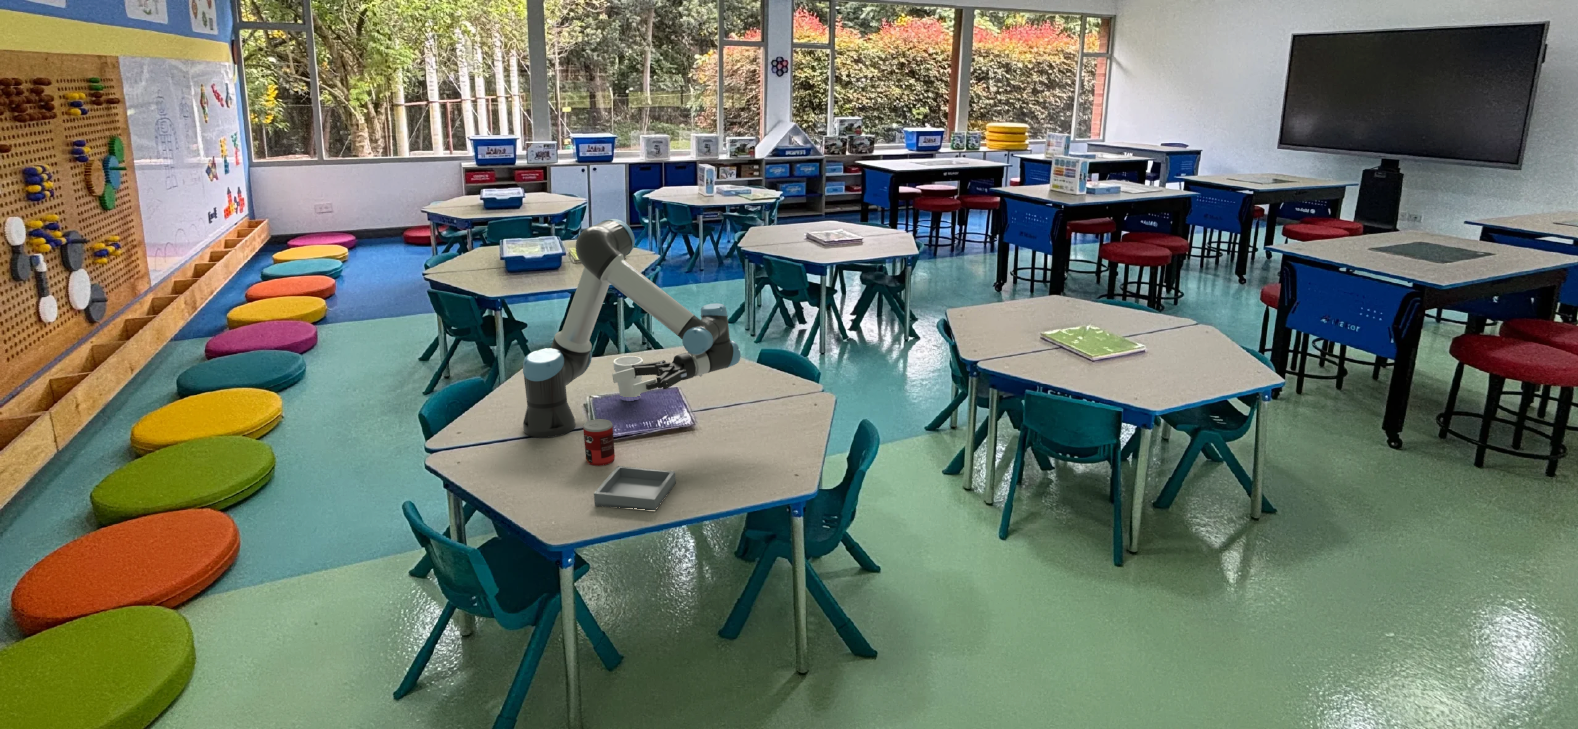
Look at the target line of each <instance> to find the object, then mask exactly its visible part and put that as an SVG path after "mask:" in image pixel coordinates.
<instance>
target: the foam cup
mask: <svg viewBox="0 0 1578 729" xmlns="http://www.w3.org/2000/svg"><path fill="white" fill-rule="evenodd" d="M643 363H644V360H643V358H642V357H640V356H636V355H625V356H618V357H617V358H614V359H613V370H614V371H615V372H614V373H616V372H620V371H623V370H627V369H630V368H632V365H635V364H643ZM642 380H643V375H641V376H636V378H631V379H627V380H624V381H620V382H617V387H618V392H619V397H620V396H623V397H637V396H640V397H641V395H640V394H642V393H639V394H634V388H633V384H637V383H640V382H643V381H642Z"/></svg>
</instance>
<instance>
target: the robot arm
mask: <svg viewBox="0 0 1578 729" xmlns="http://www.w3.org/2000/svg"><path fill="white" fill-rule="evenodd" d="M576 238H577V239H576V241H575V254H576V256H577V258H578V260H579V262H580V263H581V265H582V266H583V270H582V273H581V275H580V278H579V281H578V284H577V287H576V291H574V292H575V293H574V295H573V299H572V301H571V304H570V307H569V309H568V312H567V316H566V319H565V321H564V324H563V327H562V330H561V331H558V332H556V333H555V334H554V338H553V340H552V343H551V346H550V347H547V348H546V347H545V348H541V349H538V350H533V351H531V352H529V353H527V355H526V356H525V357H524V359H523V361H522V365H523V366H522V373H523V379H524V386H525V388H524V389H525V396H526V410H525V414H524V417H523V418H524V419H523V422H522V426H523V433H524V434H526V435H527V436H530V437H532V438H533V437H534V438H543V439H544V438H554V437H558V436H559V437H560V436H563V435H566V434H568V433H570V432H572V431H573V430H574V429H575V427H576V419H575V417H574V413H573V412H572V409H571V407H570V405H569V403H568V396H567V387H566V386H568V385H569V384H571V382H573V381H574V380H575V379H577V378H579V377H580V376H582V375H583V374H584V373H585V372H586V371H587V370H588V368H589V367H590V365H591V364H592V359H593V358H592V357H593V356H592V352H591V351H592V347H593V346H592V343H591V341H590V339H591V336H592V333H593V331H594V328H595V325H596V323H597V321H598V320H597V319H598V317H599V314H600V311H601V309H602V306H603V303H604V301H605V298H606V296H607V293H608V289H609V288H610V285H612V287H614V288H615V289H617V290H618V291H619V292H620V293H622V294H623V295H624V296H626V298H628V299H629V300H631V301H632V302H633V303H635V304H636V305H637V306H638V307H640V308H642V309H643V310H644V311H645V312H646V313H648V314H649V315H650V316H652V317H653V318H654V319H655V320H657V321H658V322H659V323H661V324H662V325H663V326H664V327H666V328H667V329H668V330H670V331H671V332H672V333H674V335H676V336H678V338H680V339H681V340H682V345H683V348H684V350H685V351H686V352H683V353H679V354H677V355H675V356H674V357H673V360H672V362H669V361H666V360H664V359H662V360H659V361H653V362H652V361H651V362H643V364H635V365H632V368H630V369H627V370H623V371H620V372H616V373H615V372H612V374H611V376H612V380H613V381H612V382H613V383H614V384H616V383H617V382H620V381H624V380H627V379H631V378H636V376H641V375H642V376H654V375H655V376H656V378H651V379H648V380H644V381H642V382H640V383H637V384H633V388H634V394H639V393H641V394H642V393H646V392H649V391H652V390H656V389H662V390H668V389H669V388H670V387H673V386H674V385H676V384H678V383H679V382H681V381H686V380H689V379H693V378H694V377H695V378H696V377H698V376H699V377H702V376H704V375H706V374H710V373H712V372H713V373H714V372H717V371H720V370H724V369H727V368H730V367H733V366H735V365H737V364H739V362H740V360H741V356H742V355H741V350H740V346H739V345H738V343H737V342H736V341H734V340H731V338H730V329H729V326H730V325H729V317H728V316H729V315H728V310H727V307H726V305H725V304H723V303H715V302H714V303H709V304H708V303H707V304H705V305H703V306H701V308H700V318H701V319H700V318H699V317H698V316H696V315H695V314H693V313H692V312H691V311H690V310H689V309H687V308H686V306H683V305H682V304H681V303H679V302H678V301H677V300H676V299H674V297H672V296H671V295H669V294H668V293H667V292H665V291H664V290H663V289H661V288H660V287H659V286H658V285H657V284H655V283H654V282H653V281H651V280H650V279H649V278H647V277H646V275H644V274H643V273H641V272H640V271H638V270H637V268H635V267H634V266H632V265H631V264H630V263H629V262H627V261H626V260H625V258H626V256H629V255H630V254H631V253H632V251H633V249H634V247H635V242H636V241H635V240H636V239H635V235H634V232H633V231H632V229H631V227H630V226H629V225H628V224H627V223H626V222H625V221H623V220H620V219H617V218H611V219H605V220H604V219H603V220H601V222H598V223H597V224H594V225H592V226H589V227H587V228H584V230H582V231H581V233H579V235H578V237H576ZM617 384H618V383H617Z"/></svg>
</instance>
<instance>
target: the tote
mask: <svg viewBox="0 0 1578 729" xmlns="http://www.w3.org/2000/svg"><path fill="white" fill-rule="evenodd" d="M676 480H677V479H676V471H675V470H668V469H667V470H665V469H656V468H655V469H654V468H645V467H636V466H635V467H634V466H624V465H618V466H616V467H615V468H614V470H613V471H612V472H610V474H609V475H608V476H607V478H605V480H604V481H603V482H602V483H601V484H600V486H598V488H596V490H595V491H594V493H593V499H594V507H602V506H603V507H604V508H611V507H617V508H616V509H621V508H633V509H634V508H637V509H645V510H656V508H657V507H658V506H659V505H660V503H661V502H662V500H663V499H664V498H665V497H666V498H667V496H668V495H669V493H670V492H671V491H672V490H673V488H674V486H675V485H676V484H677V481H676ZM672 487H673V488H672ZM670 490H671V491H670ZM669 491H670V492H669ZM667 494H668V495H667ZM666 495H667V496H666ZM666 498H665V499H666ZM665 499H664V500H665ZM664 500H663V501H664ZM662 503H663V502H662ZM662 503H661V504H662ZM660 506H661V505H660ZM660 506H659V507H660ZM603 507H602V508H603ZM619 507H620V508H619ZM659 507H658V508H659ZM656 511H657V510H656Z"/></svg>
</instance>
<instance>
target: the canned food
mask: <svg viewBox="0 0 1578 729" xmlns="http://www.w3.org/2000/svg"><path fill="white" fill-rule="evenodd" d="M613 425H614V424H613V422H612V421H611V420H609V419H605V418H597V419H596V418H595V419H591V420H587V421H586V422H584V423H583V426H582V427H583V428H582V429H583V430H582V432H583V440H584V441H583V442H584V450H585V451H584V453H585V460H586V462H587V464H589V465H590V466H595V467H602V466H607V465H610V464H612V463H613V462H614V460H615V457H616V455H615V454H616V453H615V442H614V428H613V427H614V426H613Z"/></svg>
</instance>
